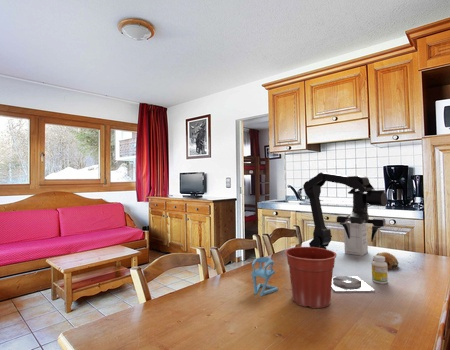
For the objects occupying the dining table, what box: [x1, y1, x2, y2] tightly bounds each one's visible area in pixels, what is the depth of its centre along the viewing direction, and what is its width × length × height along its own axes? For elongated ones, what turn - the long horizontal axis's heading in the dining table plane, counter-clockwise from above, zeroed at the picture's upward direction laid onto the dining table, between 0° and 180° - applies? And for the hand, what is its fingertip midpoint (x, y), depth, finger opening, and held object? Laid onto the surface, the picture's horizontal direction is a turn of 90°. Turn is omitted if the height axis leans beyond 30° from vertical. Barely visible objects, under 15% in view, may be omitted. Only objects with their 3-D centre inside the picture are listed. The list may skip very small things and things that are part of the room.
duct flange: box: [331, 275, 376, 294], centre depth 107 cm, size 14×14×2 cm
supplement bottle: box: [371, 254, 389, 285], centre depth 109 cm, size 5×5×10 cm
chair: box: [250, 256, 279, 297], centre depth 103 cm, size 8×8×12 cm
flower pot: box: [284, 246, 337, 309], centre depth 94 cm, size 16×16×16 cm
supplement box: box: [343, 221, 369, 257], centre depth 151 cm, size 10×9×17 cm
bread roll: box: [372, 251, 399, 270], centre depth 128 cm, size 10×10×8 cm
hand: (360, 240), depth 123 cm, fingers open, 9 cm apart
